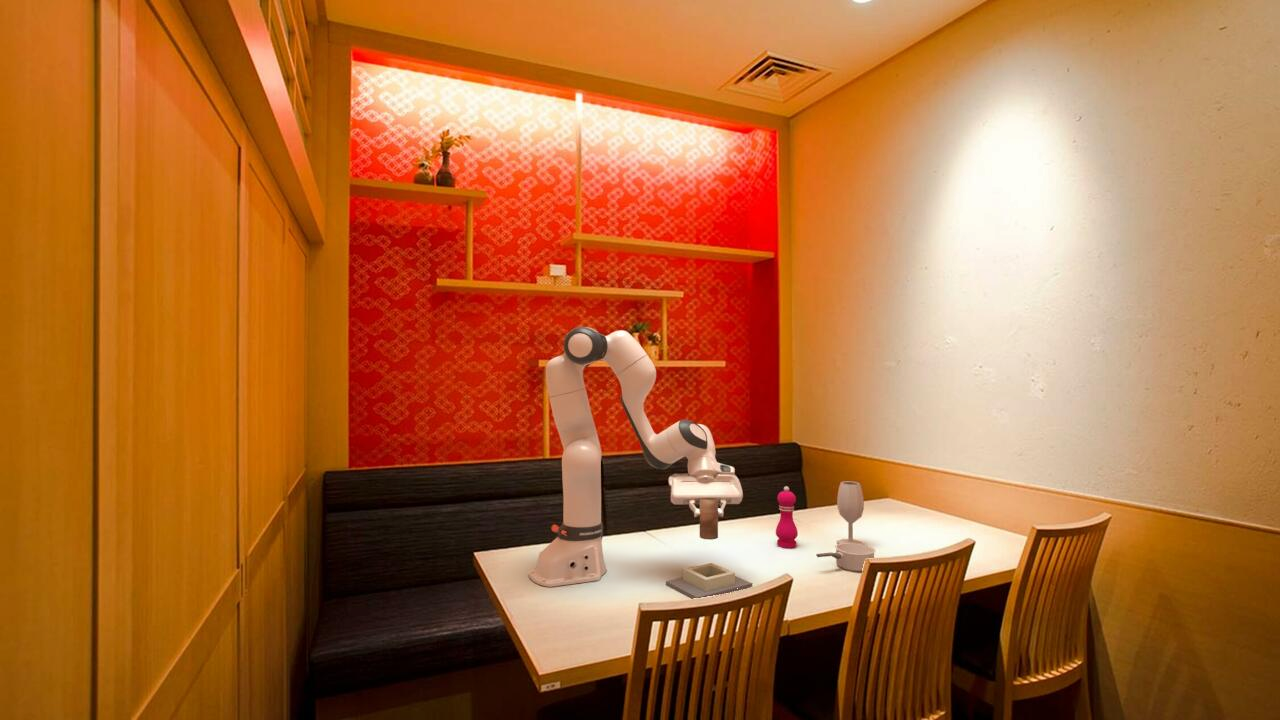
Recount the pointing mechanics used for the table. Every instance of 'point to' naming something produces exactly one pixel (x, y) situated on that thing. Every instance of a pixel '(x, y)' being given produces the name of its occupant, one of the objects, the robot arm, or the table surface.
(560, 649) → the table surface
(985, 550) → the table surface
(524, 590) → the table surface
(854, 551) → the saucepan
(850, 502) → the wineglass
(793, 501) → the pepper mill
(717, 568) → the socket block
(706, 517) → the walnut peg
